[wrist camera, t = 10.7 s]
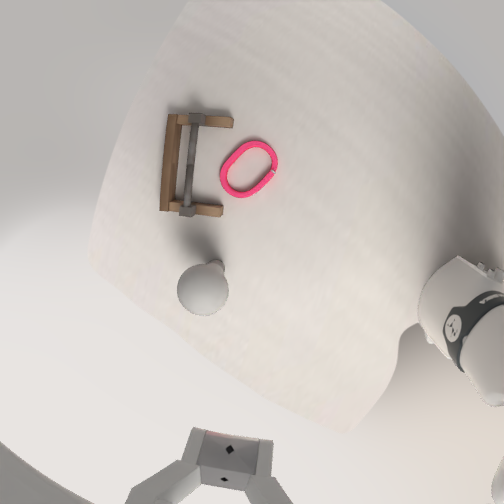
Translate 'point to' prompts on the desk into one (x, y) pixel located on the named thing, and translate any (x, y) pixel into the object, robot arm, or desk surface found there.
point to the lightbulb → (203, 288)
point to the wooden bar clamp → (171, 164)
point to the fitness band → (235, 156)
